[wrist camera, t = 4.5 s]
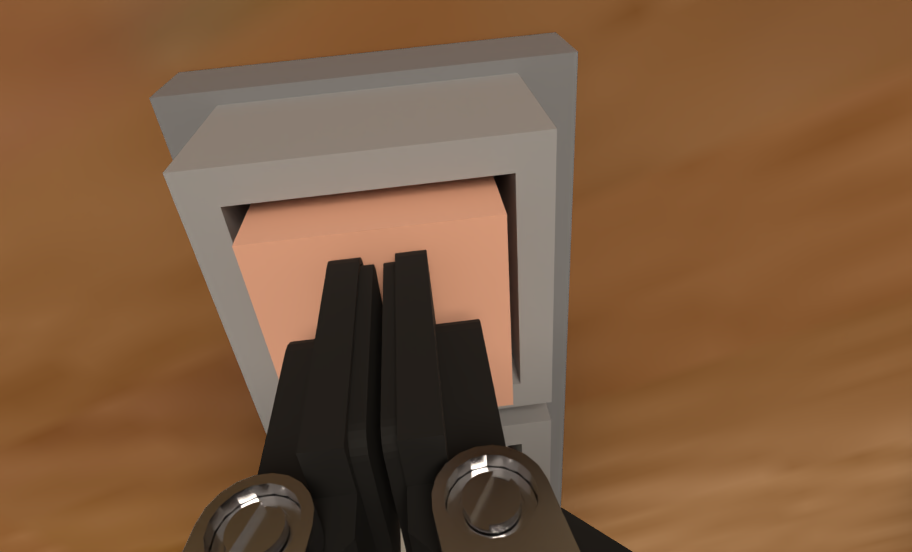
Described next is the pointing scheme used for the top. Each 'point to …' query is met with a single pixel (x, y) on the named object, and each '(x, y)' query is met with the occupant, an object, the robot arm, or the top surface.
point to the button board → (392, 180)
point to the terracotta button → (383, 258)
